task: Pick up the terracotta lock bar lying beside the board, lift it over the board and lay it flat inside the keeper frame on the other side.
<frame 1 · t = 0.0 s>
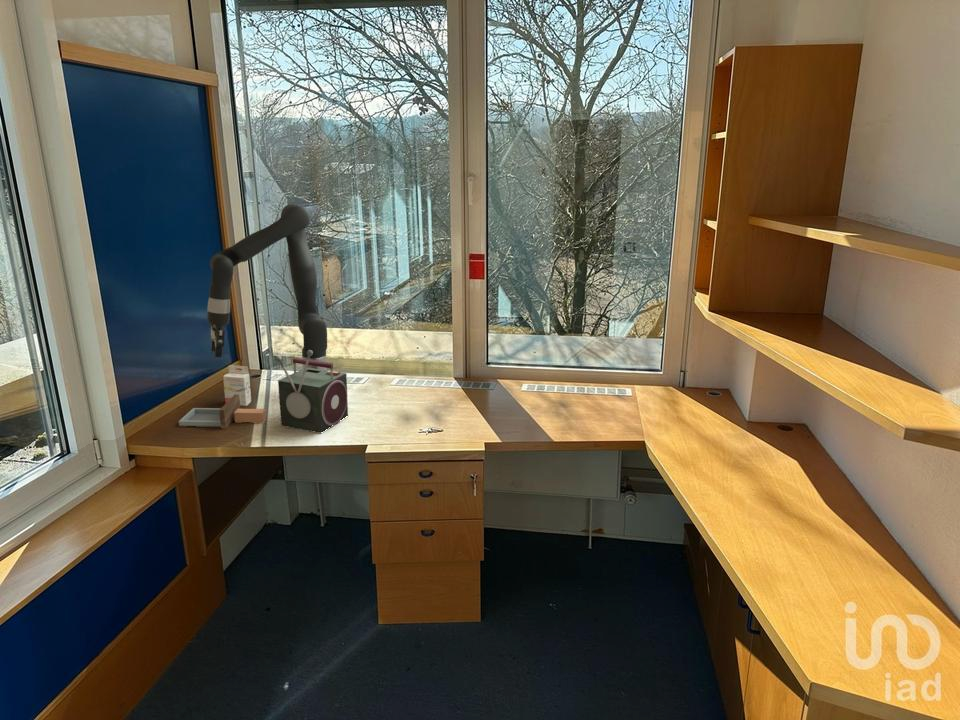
hand: (216, 353, 241), 22 cm above the table, tool pointing down, fingers open, 8 cm apart
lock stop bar: (250, 421, 239), on the table
boombox: (314, 422, 240), on the table
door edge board: (231, 420, 239), on the table
ink cartridge box: (238, 403, 256), on the table
keeper: (207, 419, 239), on the table
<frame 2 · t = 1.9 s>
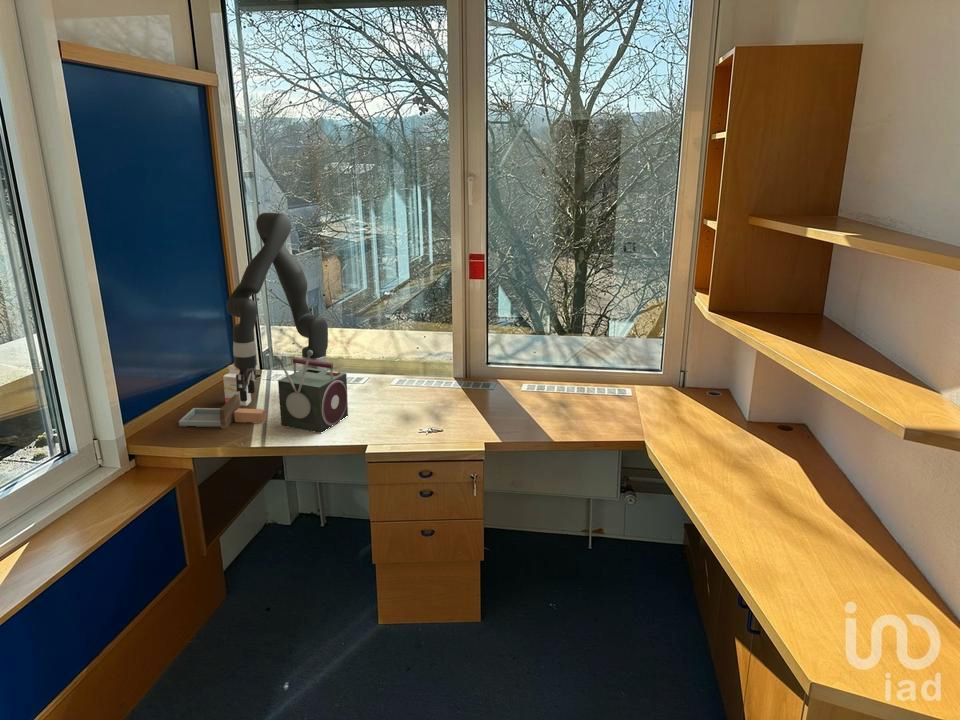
hand: (247, 396, 237), 9 cm above the table, tool pointing down, fingers open, 8 cm apart
nothing on the table moved.
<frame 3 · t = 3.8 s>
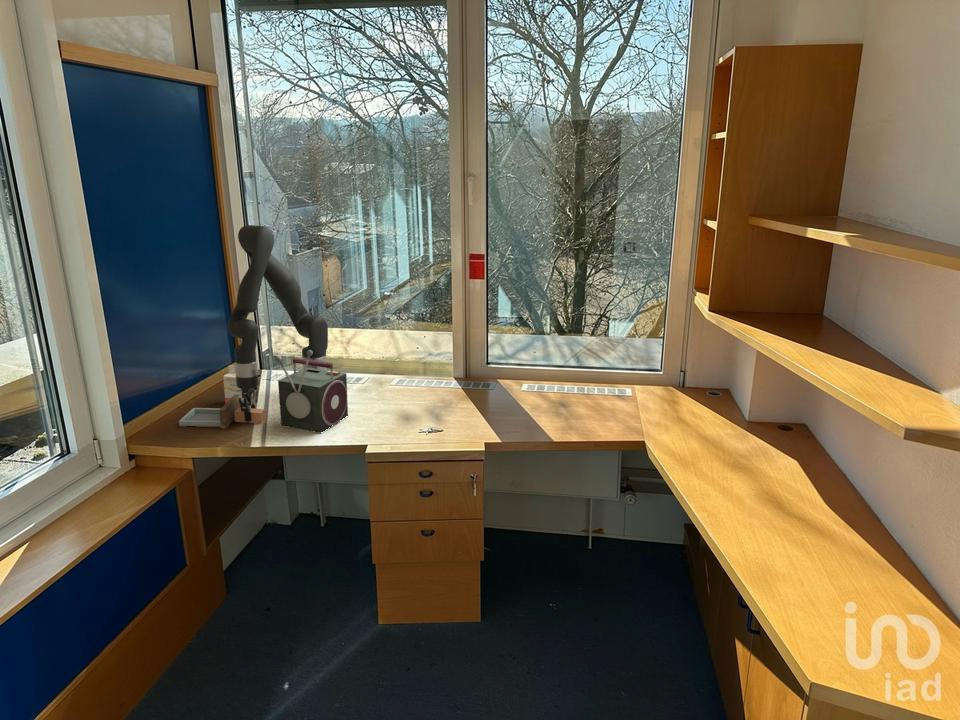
hand: (250, 418, 239), 1 cm above the table, tool pointing down, fingers closed on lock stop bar, 4 cm apart
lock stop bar: (250, 420, 239), on the table, touching gripper
everything else where it was.
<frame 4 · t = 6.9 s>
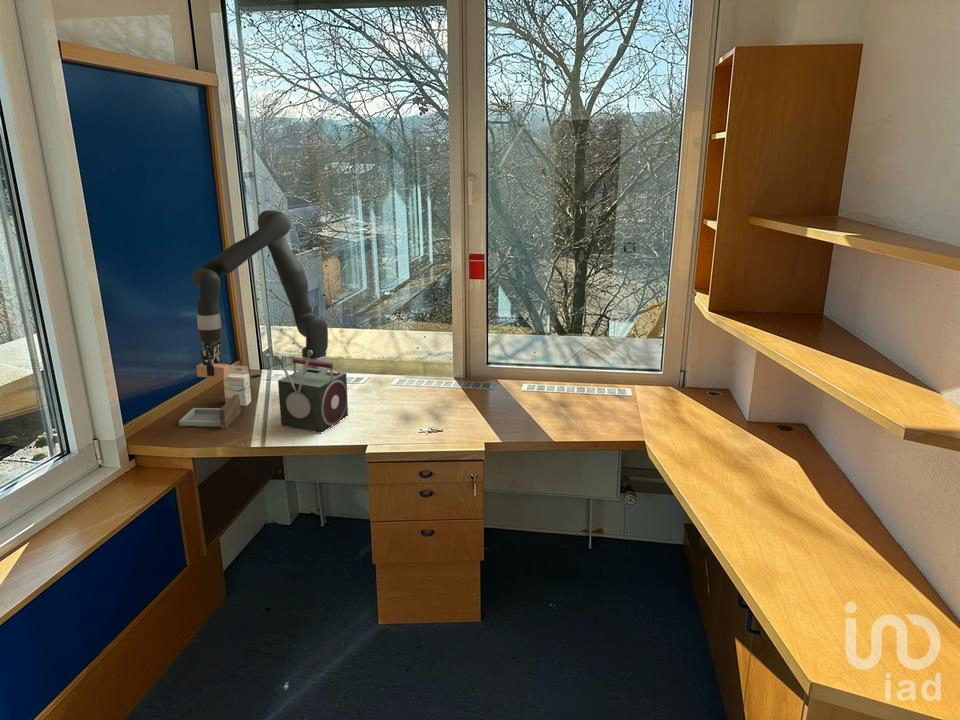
hand: (213, 373, 233), 18 cm above the table, tool pointing down, fingers closed on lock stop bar, 4 cm apart
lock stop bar: (213, 375, 233), point 17 cm above the table, touching gripper
everything else where it was.
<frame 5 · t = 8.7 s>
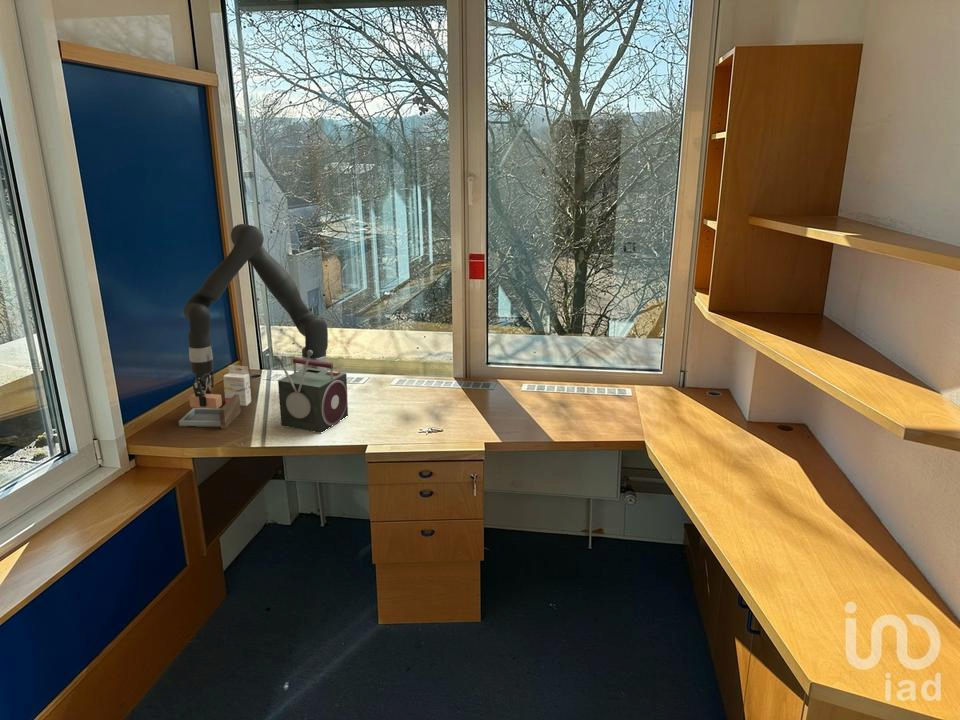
hand: (205, 403, 237), 6 cm above the table, tool pointing down, fingers closed on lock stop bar, 4 cm apart
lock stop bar: (206, 406, 237), point 5 cm above the table, touching gripper
everything else where it was.
when the fingers open (3 cm above the table, at t = 10.2 s): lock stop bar drops 1 cm, resting on keeper.
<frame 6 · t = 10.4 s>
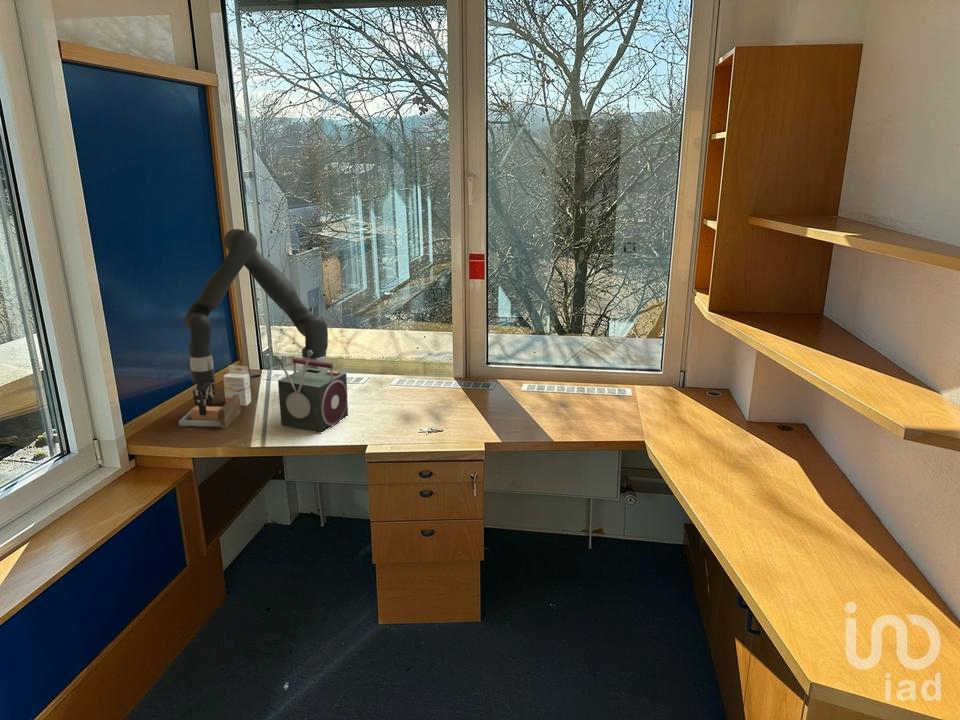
hand: (206, 411, 238), 3 cm above the table, tool pointing down, fingers open, 6 cm apart
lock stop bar: (207, 418, 239), resting on keeper
everything else where it was.
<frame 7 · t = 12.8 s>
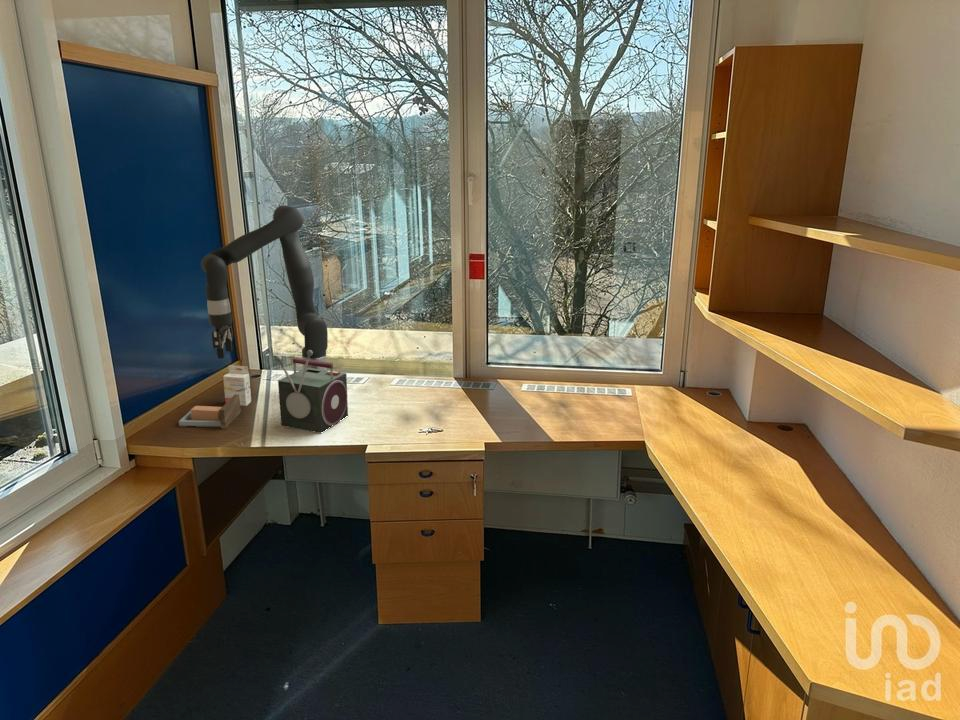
hand: (225, 354, 240), 22 cm above the table, tool pointing down, fingers open, 8 cm apart
nothing on the table moved.
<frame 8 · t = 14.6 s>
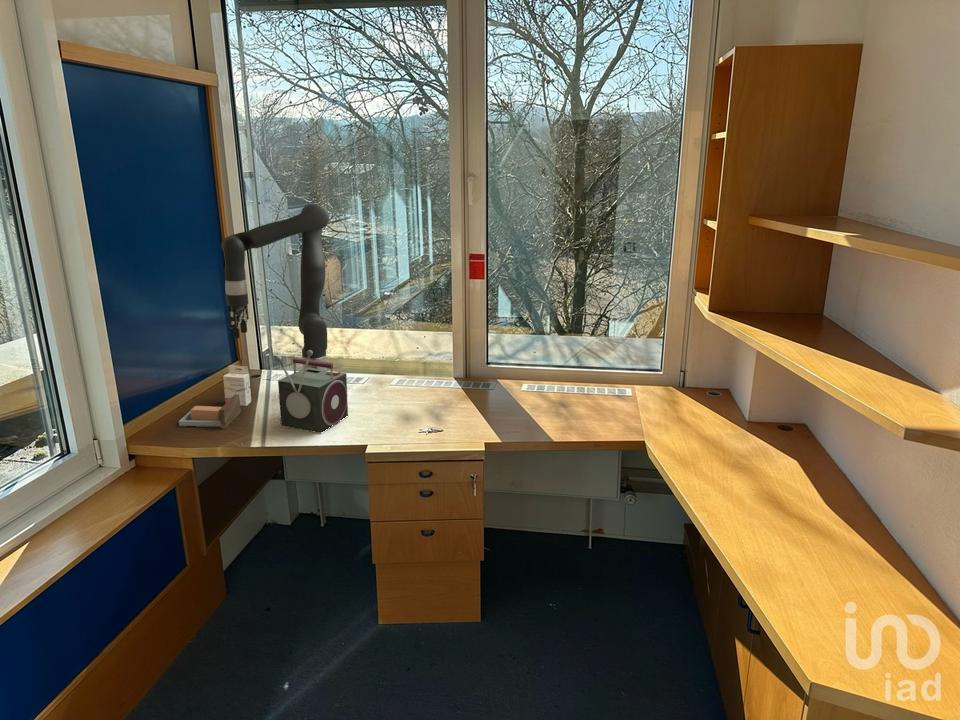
hand: (240, 335, 244), 28 cm above the table, tool pointing down, fingers open, 8 cm apart
nothing on the table moved.
at the end: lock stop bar 0.1 cm off-centre on the keeper, point 0.4 cm above the keeper's base; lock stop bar tilted 0°; the gripper is holding nothing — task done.
